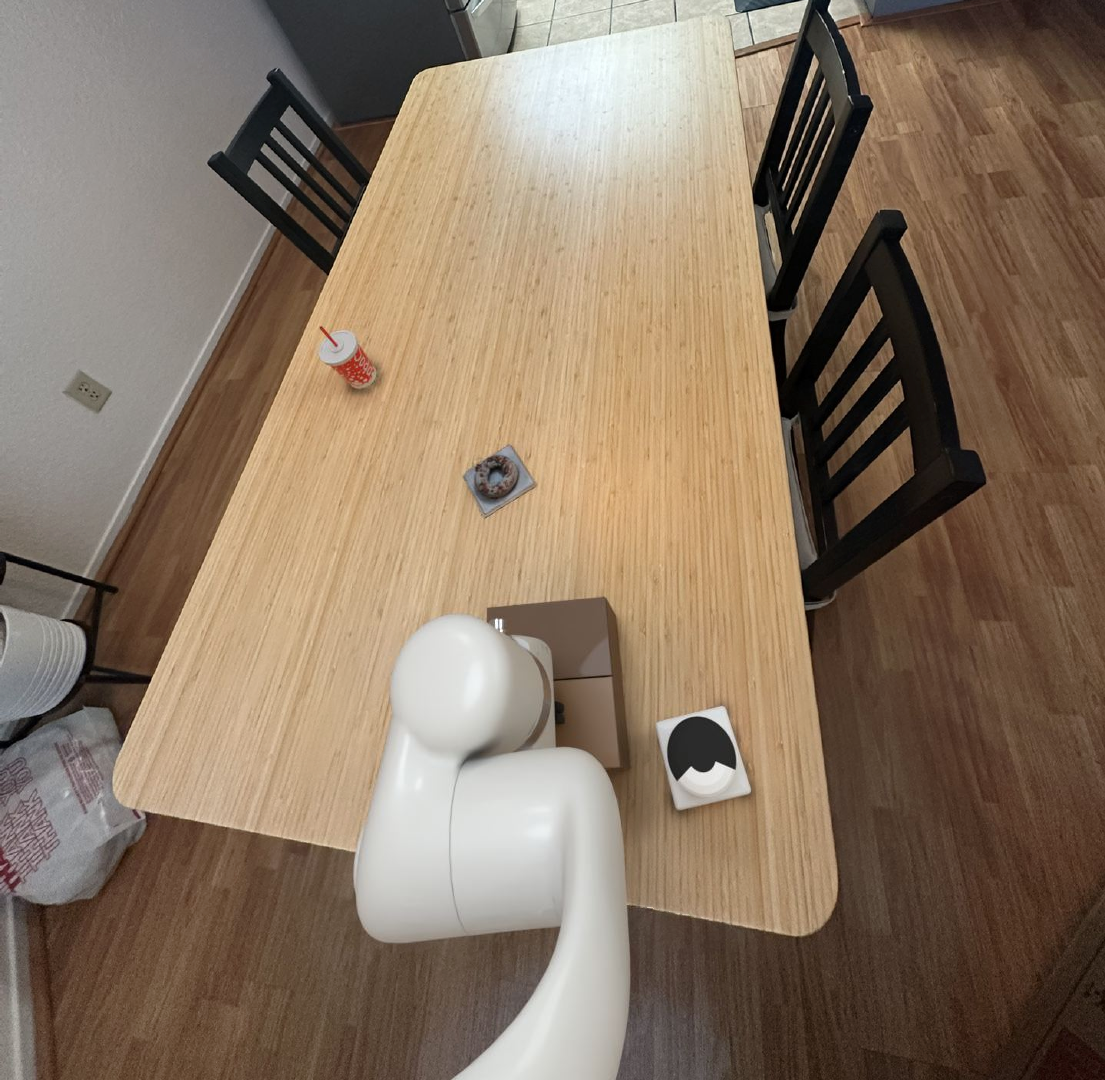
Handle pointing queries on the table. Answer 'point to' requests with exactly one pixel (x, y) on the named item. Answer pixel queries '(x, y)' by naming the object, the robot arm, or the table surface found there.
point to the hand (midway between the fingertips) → (548, 715)
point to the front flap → (588, 718)
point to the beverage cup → (347, 358)
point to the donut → (498, 480)
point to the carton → (575, 645)
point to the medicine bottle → (702, 758)
